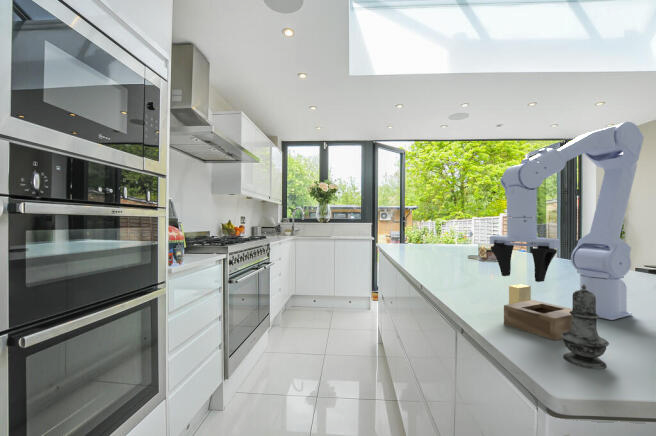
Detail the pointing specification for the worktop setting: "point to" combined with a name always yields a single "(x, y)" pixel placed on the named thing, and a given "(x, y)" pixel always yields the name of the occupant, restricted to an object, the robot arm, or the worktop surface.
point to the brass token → (519, 293)
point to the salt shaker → (584, 333)
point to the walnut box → (539, 318)
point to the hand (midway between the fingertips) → (522, 278)
